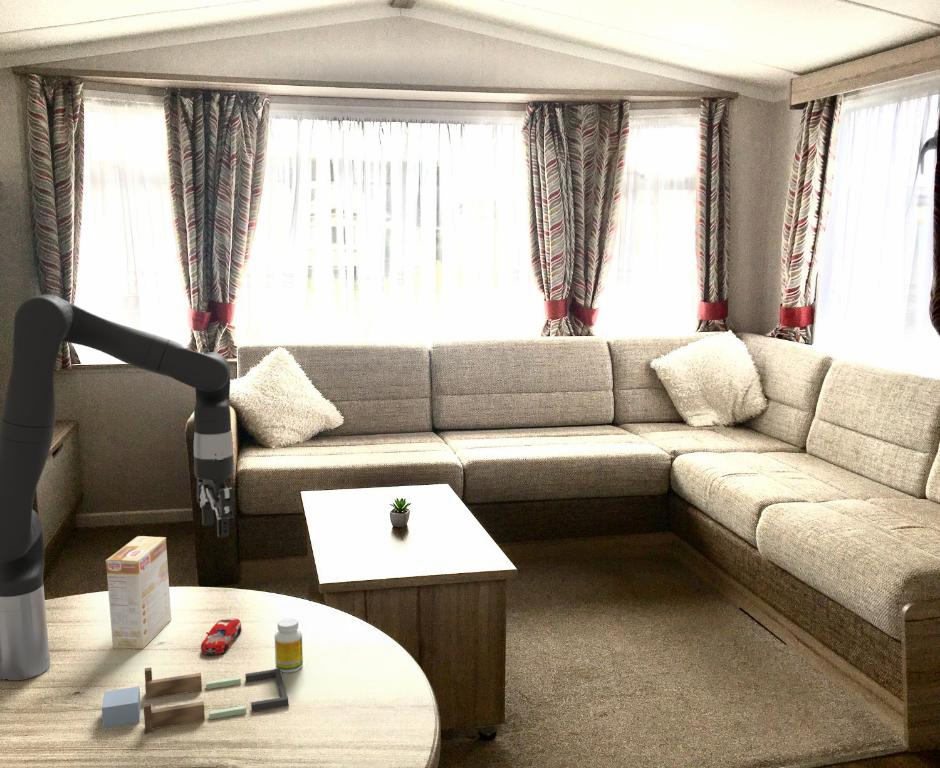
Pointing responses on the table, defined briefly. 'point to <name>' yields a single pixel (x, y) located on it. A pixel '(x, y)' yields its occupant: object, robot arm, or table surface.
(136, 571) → the coffeecake box
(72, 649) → the table surface
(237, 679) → the rails
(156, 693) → the channel
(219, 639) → the race car
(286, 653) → the supplement bottle
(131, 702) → the block
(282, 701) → the frame
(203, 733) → the table surface
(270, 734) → the table surface
